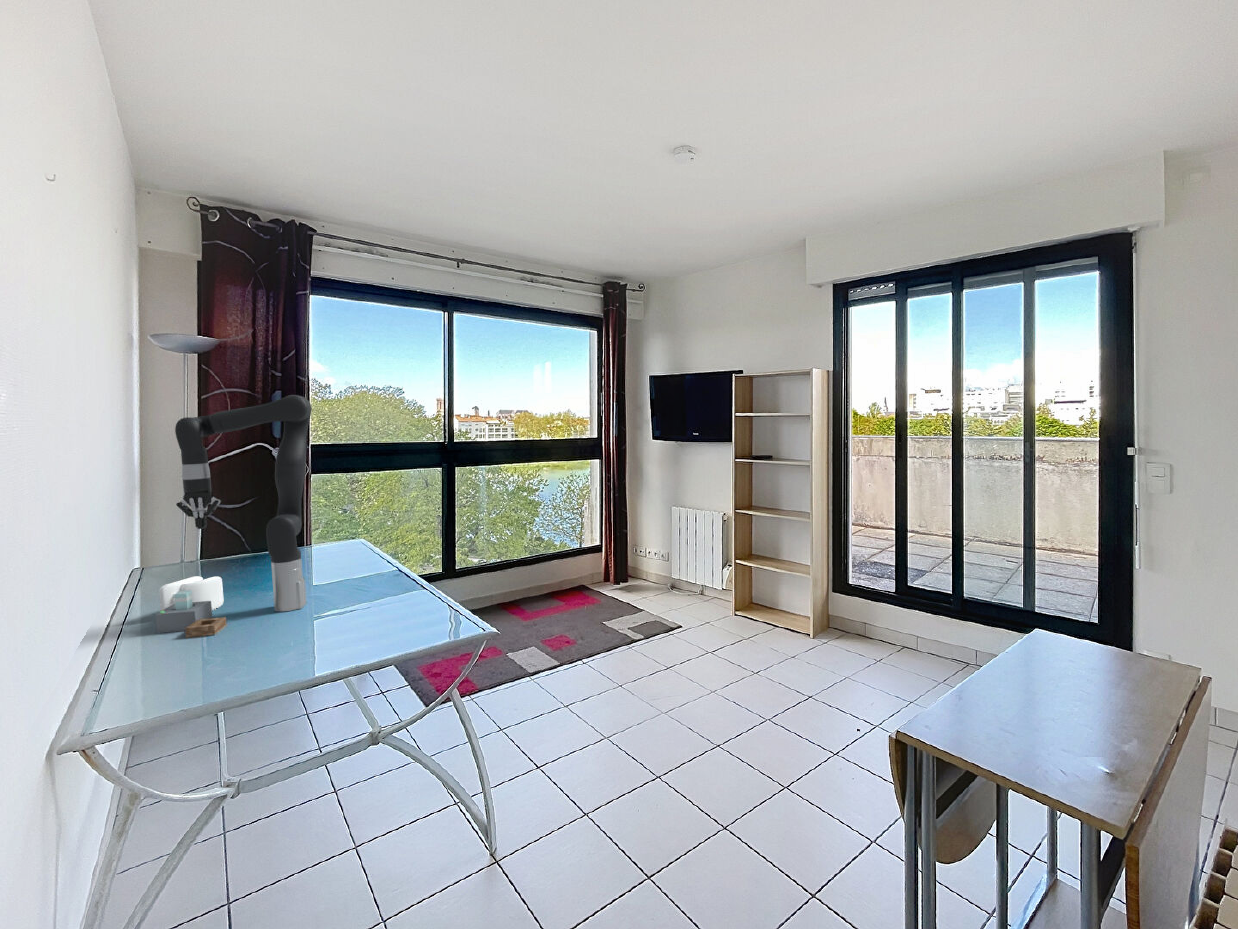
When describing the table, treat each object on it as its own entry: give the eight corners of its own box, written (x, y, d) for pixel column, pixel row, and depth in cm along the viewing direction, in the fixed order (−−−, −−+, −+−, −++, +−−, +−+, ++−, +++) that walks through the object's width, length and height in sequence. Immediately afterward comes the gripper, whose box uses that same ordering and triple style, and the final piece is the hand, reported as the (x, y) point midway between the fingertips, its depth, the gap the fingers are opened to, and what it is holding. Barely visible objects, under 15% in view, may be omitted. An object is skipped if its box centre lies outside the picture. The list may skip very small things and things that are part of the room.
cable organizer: (185, 621, 193) (182, 587, 192) (160, 619, 196) (157, 586, 195) (224, 606, 208) (222, 575, 207) (200, 605, 210) (198, 574, 209)
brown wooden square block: (226, 626, 187) (225, 617, 187) (215, 635, 179) (214, 625, 179) (198, 628, 185) (198, 619, 185) (185, 637, 177) (185, 628, 177)
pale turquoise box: (194, 620, 191) (191, 590, 190) (189, 623, 187) (186, 593, 187) (181, 621, 190) (179, 591, 189) (176, 624, 187) (173, 594, 186)
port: (212, 618, 195) (210, 599, 195) (196, 629, 185) (194, 609, 184) (175, 621, 193) (173, 602, 193) (156, 633, 182) (155, 613, 182)
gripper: (223, 475, 198) (228, 525, 199) (179, 477, 195) (184, 528, 196) (213, 477, 190) (218, 529, 192) (167, 479, 187) (173, 532, 189)
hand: (201, 528), depth 194 cm, fingers closed
